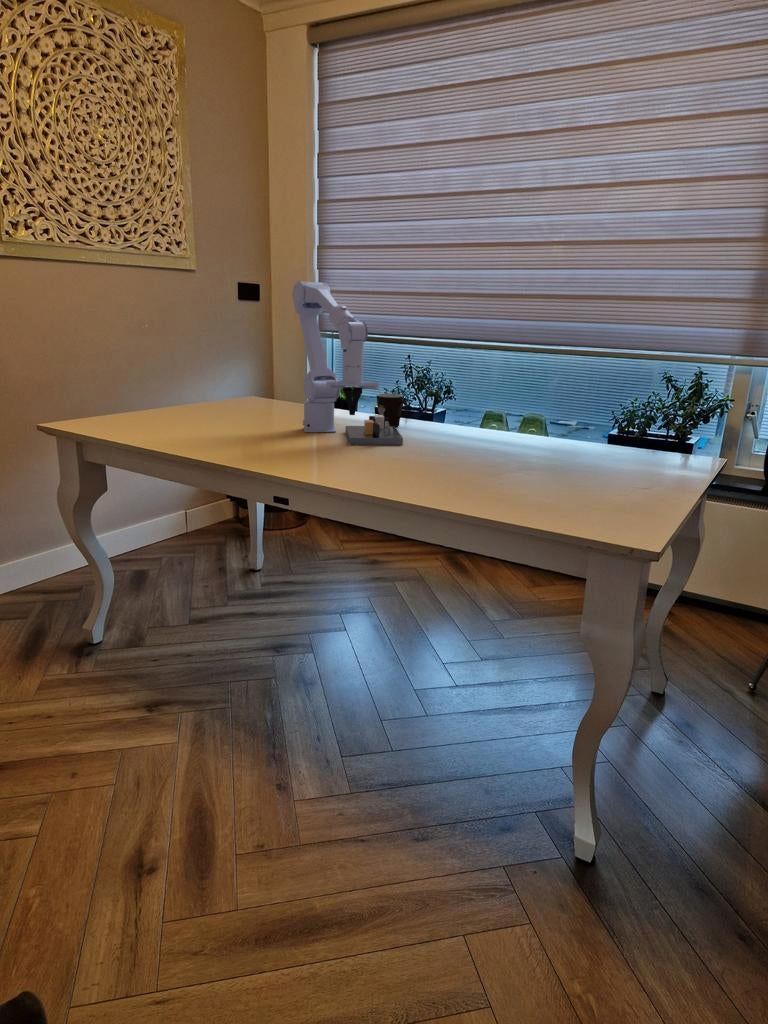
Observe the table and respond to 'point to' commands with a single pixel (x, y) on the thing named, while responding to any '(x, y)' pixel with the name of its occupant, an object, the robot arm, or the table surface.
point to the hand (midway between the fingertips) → (352, 414)
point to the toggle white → (380, 420)
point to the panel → (368, 439)
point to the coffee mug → (391, 407)
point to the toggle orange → (368, 427)
